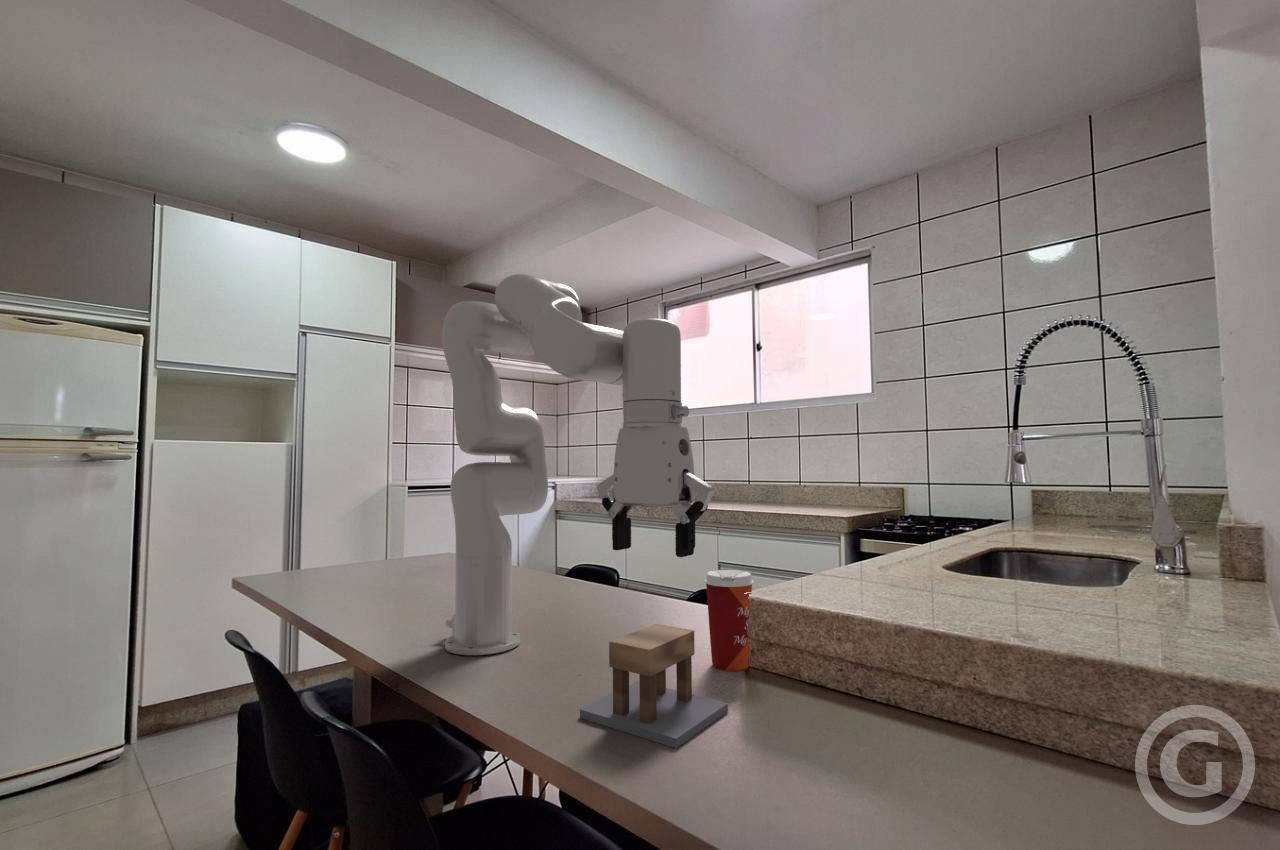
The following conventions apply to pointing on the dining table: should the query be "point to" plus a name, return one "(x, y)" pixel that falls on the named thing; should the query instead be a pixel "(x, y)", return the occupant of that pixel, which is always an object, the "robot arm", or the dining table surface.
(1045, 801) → the dining table surface
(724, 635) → the paper cup
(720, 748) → the dining table surface
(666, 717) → the mat
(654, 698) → the footstool
